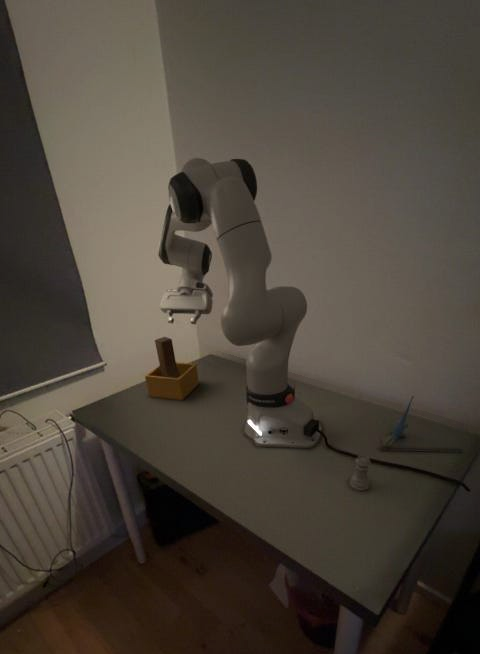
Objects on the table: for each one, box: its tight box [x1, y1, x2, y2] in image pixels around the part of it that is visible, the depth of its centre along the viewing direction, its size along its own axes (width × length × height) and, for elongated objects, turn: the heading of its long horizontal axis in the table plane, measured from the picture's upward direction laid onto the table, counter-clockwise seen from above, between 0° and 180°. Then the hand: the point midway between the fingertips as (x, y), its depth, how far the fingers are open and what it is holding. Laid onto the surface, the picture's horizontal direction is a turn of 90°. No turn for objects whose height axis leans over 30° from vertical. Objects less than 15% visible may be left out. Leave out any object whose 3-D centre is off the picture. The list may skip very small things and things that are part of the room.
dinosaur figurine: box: [380, 395, 414, 449], centre depth 93 cm, size 3×15×10 cm
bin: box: [144, 361, 200, 401], centre depth 128 cm, size 14×14×8 cm
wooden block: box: [154, 336, 181, 378], centre depth 124 cm, size 9×4×18 cm, turn 42°
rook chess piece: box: [349, 454, 372, 492], centre depth 79 cm, size 4×4×8 cm
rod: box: [381, 448, 461, 453], centre depth 91 cm, size 1×19×1 cm, turn 83°
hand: (181, 323), depth 128 cm, fingers open, 8 cm apart
